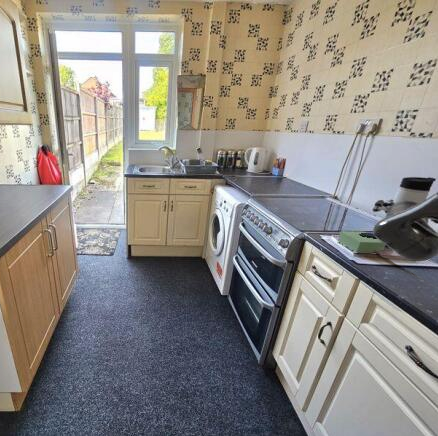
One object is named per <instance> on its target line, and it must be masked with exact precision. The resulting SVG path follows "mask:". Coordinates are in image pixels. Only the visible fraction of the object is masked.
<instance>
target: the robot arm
mask: <svg viewBox="0 0 438 436" xmlns="http://www.w3.org/2000/svg"><path fill="white" fill-rule="evenodd" d="M393 201H394V199H390V200H386V201H385V200H383V199H378V200H377V201H376V202H375V203H374V205H373V208H372V212H373V213H374V212H375V213H378V212H381V211H384V213H385V217H384V218H382V219H380V220H379V221H377V222H376V223H375V225H374V226H373V229H372V234H373V236H375V237H376V238H377V239H378V240H380V241H381V242H383V243H384V244H385V246H386V247H388V248H389V249H390V250H392V251H393V252H394V253H396V254H397V255H399V256H400V257H402V258H403V259H405V260H407V261H411V262H424V261H428V260H430V259H433V258H434V257H436V256H437V255H438V232H437V231H436V230H435V229H434V228H433V227H432V226H430V225H429V220H430V222H433V223H434V224H436V225H437V224H438V191H436V192H435V193H433V194H432V195H431V196H429V197H427V198H426V200H424V201H422V202H421V203H419V204H418V203H415V202H410V201H404V202H399V203H398V202H393Z"/></svg>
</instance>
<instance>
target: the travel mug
mask: <svg viewBox="0 0 438 436" xmlns="http://www.w3.org/2000/svg"><path fill="white" fill-rule="evenodd" d="M436 180H437V179H436V178H434V177H429V176H428V177H420V176H409V177H402V179H401V182H400V185H399V187H398V188H397V191H396V193H395V196H394V198H393V202H398V203H399V202H404V201H410V202H415V203H418V204H419V203H421V202H422V201H424V200H426V199H428V196H429V193H430V190H431V188H432V186H433V185H434V182H436Z"/></svg>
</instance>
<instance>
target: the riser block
mask: <svg viewBox="0 0 438 436" xmlns="http://www.w3.org/2000/svg"><path fill="white" fill-rule="evenodd" d="M361 233H368V232H366V231H357V230H355V231H353V230H352V231H349V230H340V232H339V234H338V235H339V236H338V238H337V241H339V242H340V243H342V244H344V245H345V246H347V247H348V248H350V249H352V250H353V251H355V252H357V253H379V252H384V250H385V247H386V245H385V244H384V243H383V242H381V241H380V240H378V239H373V238H367V237H362V236H360V235H359V234H361ZM340 243H339V244H340ZM345 246H344V247H345ZM348 248H347V249H348ZM353 251H352V252H353Z"/></svg>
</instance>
